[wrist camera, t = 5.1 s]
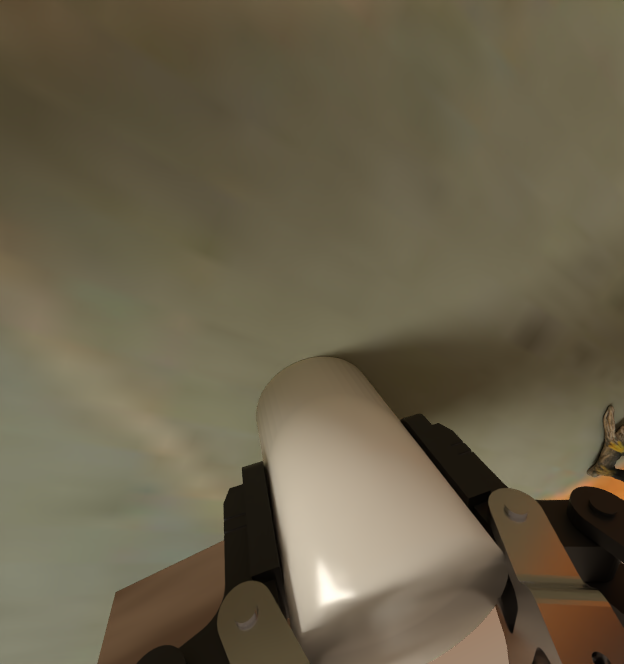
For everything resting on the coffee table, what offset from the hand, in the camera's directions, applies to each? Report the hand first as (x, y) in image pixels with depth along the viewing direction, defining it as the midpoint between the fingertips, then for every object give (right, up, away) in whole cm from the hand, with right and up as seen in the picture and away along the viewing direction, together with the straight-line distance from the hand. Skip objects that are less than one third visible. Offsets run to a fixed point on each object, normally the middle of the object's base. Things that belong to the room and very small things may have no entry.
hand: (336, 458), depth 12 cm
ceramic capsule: (-1, +1, +3) cm, 3 cm away
